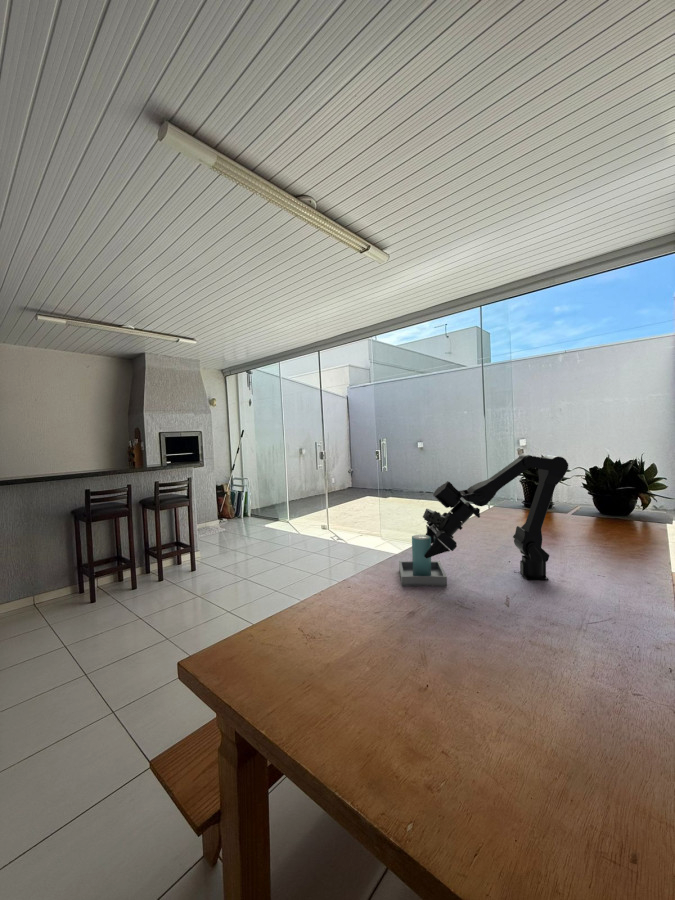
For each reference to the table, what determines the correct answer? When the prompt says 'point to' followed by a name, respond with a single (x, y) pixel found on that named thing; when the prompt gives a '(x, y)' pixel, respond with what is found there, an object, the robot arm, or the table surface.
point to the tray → (410, 580)
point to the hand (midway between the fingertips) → (422, 552)
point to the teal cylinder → (421, 555)
